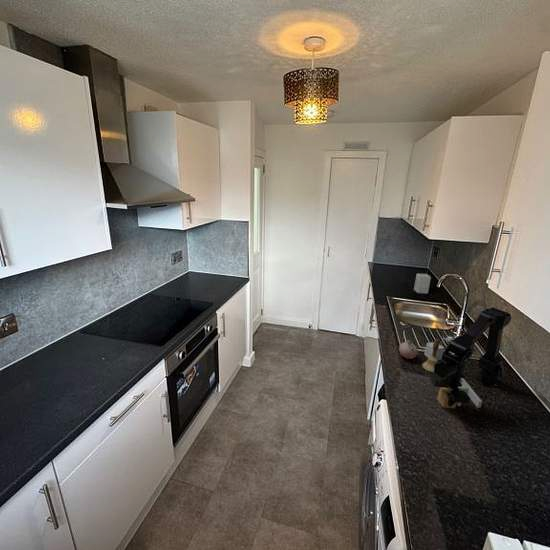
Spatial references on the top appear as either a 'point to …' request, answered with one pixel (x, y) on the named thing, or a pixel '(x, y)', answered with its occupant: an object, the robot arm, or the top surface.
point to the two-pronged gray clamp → (470, 393)
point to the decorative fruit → (408, 350)
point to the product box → (430, 350)
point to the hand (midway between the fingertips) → (446, 401)
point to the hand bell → (432, 358)
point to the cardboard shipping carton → (444, 397)
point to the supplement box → (422, 283)
